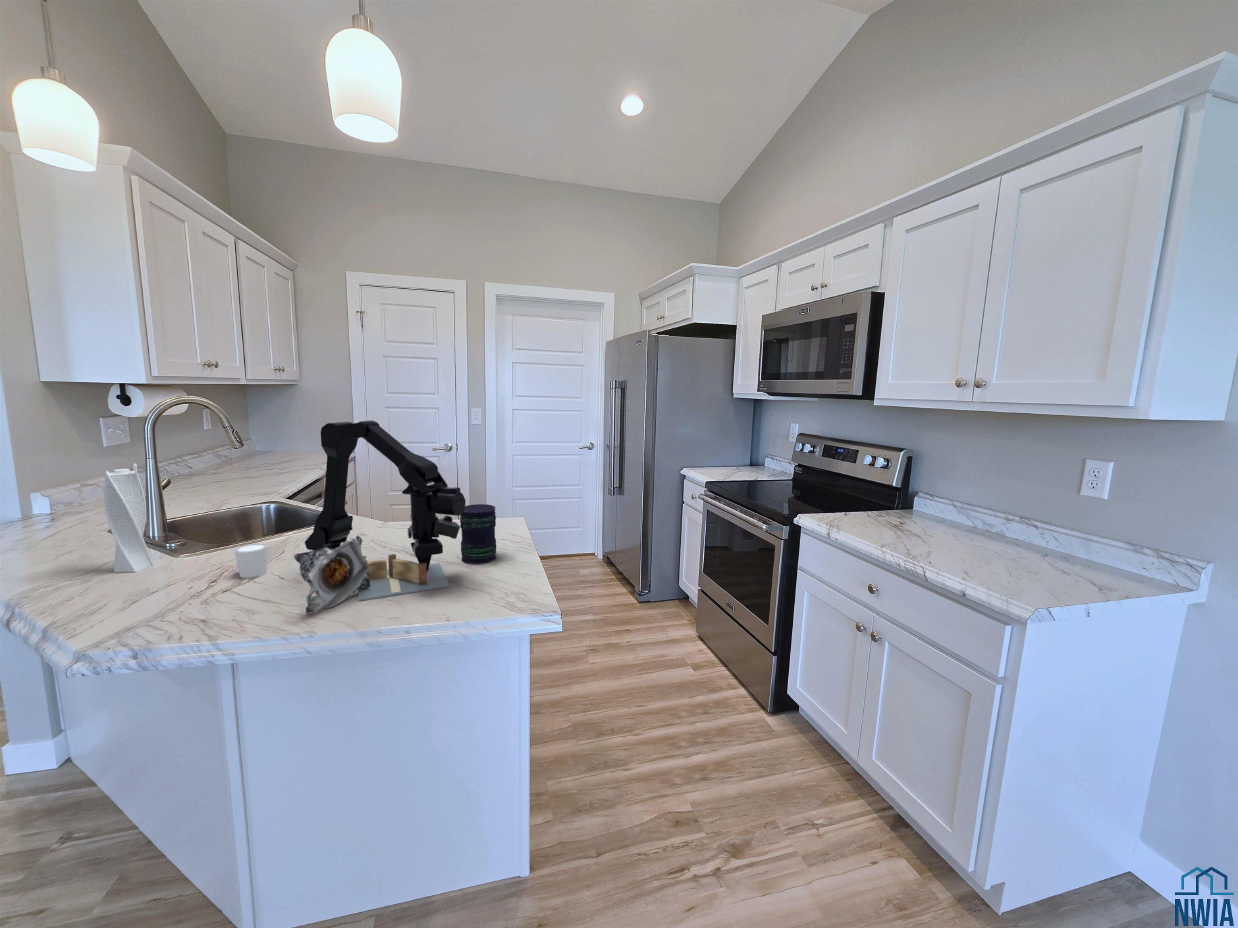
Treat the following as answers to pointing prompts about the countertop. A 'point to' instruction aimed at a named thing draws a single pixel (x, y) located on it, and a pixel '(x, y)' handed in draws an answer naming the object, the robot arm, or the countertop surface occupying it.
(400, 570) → the rail
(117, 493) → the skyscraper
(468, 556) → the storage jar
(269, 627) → the countertop surface
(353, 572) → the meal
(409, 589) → the board
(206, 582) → the countertop surface
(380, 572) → the fixed fence rail
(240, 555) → the white cylinder
